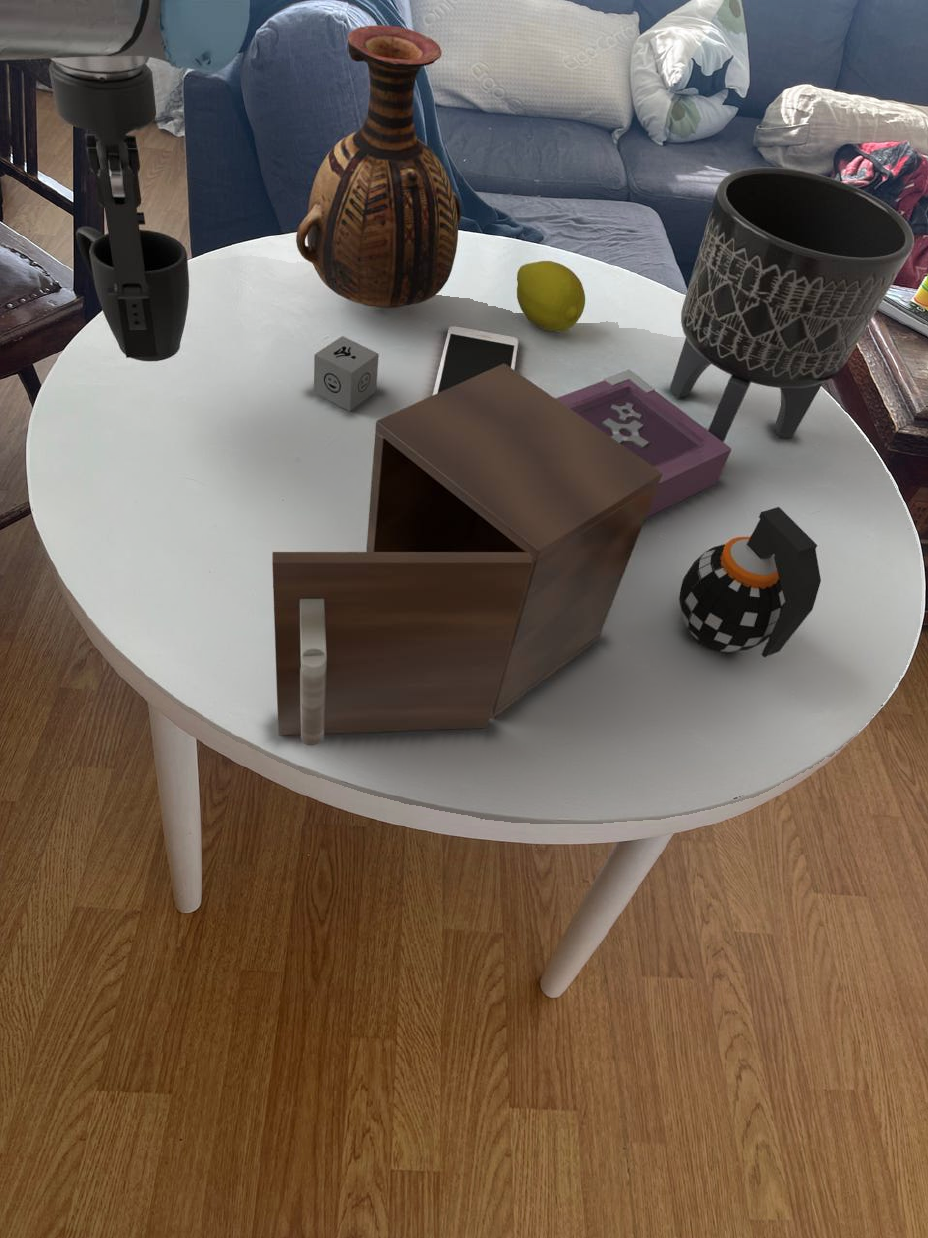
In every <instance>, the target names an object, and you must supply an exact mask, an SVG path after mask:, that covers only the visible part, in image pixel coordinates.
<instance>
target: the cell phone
mask: <svg viewBox="0 0 928 1238" xmlns="http://www.w3.org/2000/svg"><path fill="white" fill-rule="evenodd" d="M446 333H447V334H446V338H445V342H444V346H443V351H442V355H441V358H440V363H439V367H438V371H437V376H436V380H435V384H434V388H433V392H432V396H433V395H435V394H437V393H439V392H442V391H444V390H446V389H448V388H451V387H453V386H455V385H457V384H459V383H462V382H464V381H466V380H468V379H471V378H473V377H475V376H477V375H479V374H482V373H484V372H486V371H488V370H491V369H493V368H495V367H497V366H499V365H502V364H506V365H508V366H509V367H510V368H512V369H513V370H515V369H516V363H517V354H518V348H519V338H518V337H514V336H511V335H505V334H499V333H493V332H490V331H489V332H488V331H483V330H477V329H473V328H467V327H461V326H454V325H451V326H449V327H448V330H447V332H446Z"/></svg>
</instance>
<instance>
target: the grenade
mask: <svg viewBox="0 0 928 1238" xmlns="http://www.w3.org/2000/svg"><path fill="white" fill-rule="evenodd" d="M758 518H759V520H758V522H757V524H756V526H755V528H754V530H753V531H752V533H751V535H750V536H737V537H734V538H731V539H729V540H728V541H726V543H724V544H720V545H716V546H713V547H711V548H709V549H708V550H706V551H704V552H703V553H702V554H701V555H700V556H699V557H698V558H697V559H695V560H694V562H693V563H692V565H691V566H690V567H689V569H688V570H687V572H686V573H685V575H684V577H683V579H682V582H681V585H680V589H679V595H678V604H679V612H680V616H681V620H682V621H683V623H684V625H685V626H686V628H687V630H688V631H689V633H690V635H691V636H692V637H693V638H694V640H695V641H696V642H697V643H698V644H699V645H700V646H703V647H704V648H706V649H708V650H710V651H713V652H717V653H725V652H726V653H733V652H741V651H742V652H743V651H747V650H748V651H749V650H751V649H753V648H755V647H757V646H759V645H762V643H764V642H766V641H767V642H766V643H765V646H764V648H763V650H762V652H761V656H762V657H763V658H766V657H769V656H772V655H775V654H777V653H780V652H781V650H782V649H783V648H784V647H785V645H786V644H787V642H788V641H789V640H790V639H791V637H792V636H793V635H794V634H795V632H796V631H797V630H798V628H799V627H800V626H801V625H802V624H803V622H804V621H805V620H806V619H807V617H808V616H809V615H810V614H811V612H812V611H813V609H814V606H815V603H816V599H817V596H818V592H819V589H820V586H821V582H822V579H821V573H820V567H819V562H818V561H819V560H818V555H817V547H818V546H819V545H818V544H817V543H816V542H815V541H814V540H813V539H812V538H811V537H810V536H809V535H808V534H807V533H806V532H805V531H804V530H803V529H802V528H801V527H800V526H799V525H798V524H797V522H795V521H794V520H793V519H792V517H790V516H789V515H788V514H787V513H786V512H785V511H784V510H783V509H782V508H781V507H780V506H777V507H773V508H769V509H766V510H764V511H760V513H759V515H758Z"/></svg>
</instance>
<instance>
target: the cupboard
mask: <svg viewBox="0 0 928 1238" xmlns="http://www.w3.org/2000/svg"><path fill="white" fill-rule="evenodd" d="M373 442H374V444H373V456H372V457H373V458H372V471H371V482H370V494H369V495H370V497H369V510H368V523H367V537H366V548H365V552H530V554H531V558H532V562H533V563H532V567H531V570H530V574H529V578H528V581H527V585H526V588H525V592H524V596H523V599H522V603H521V607H520V610H519V614H518V618H517V621H516V625H515V628H514V632H513V636H512V639H511V643H510V647H509V650H508V654H507V658H506V661H505V665H504V668H503V672H502V676H501V679H500V683H499V687H498V690H497V694H496V698H495V701H494V705H493V709H492V712H491V716H490V719H494V718H496V717H497V716H498V715H500V714H501V713H503V712H504V711H505V710H506V709H508V708H509V707H511V706H512V705H514V703H516V702H517V701H519V700H520V699H521V698H523V697H525V695H527V694H528V693H529V692H531V691H532V690H533V689H535V688H536V687H537V686H539V685H540V684H541V683H542V682H544V681H545V680H546V679H548V678H549V677H551V676H553V674H555V673H556V672H557V671H559V670H560V669H562V668H563V667H564V666H566V665H567V664H568V663H569V662H571V661H572V660H573V659H575V658H576V657H578V656H579V655H580V654H581V653H583V652H584V651H586V650H587V649H589V648H590V647H591V646H592V645H594V644H595V643H597V641H599V639H600V636H601V634H602V631H603V629H604V626H605V623H606V620H607V619H608V615H609V613H610V610H611V608H612V605H613V602H614V600H615V598H616V596H617V593H618V590H619V587H620V585H621V582H622V580H623V577H624V575H625V571H626V570H627V568H628V567H627V566H628V564H629V563H630V562H629V561H630V558H631V556H632V553H633V551H634V548H635V546H636V543H637V541H638V539H639V537H640V534H641V531H642V528H643V526H644V523H645V520H646V515H647V513H648V510H649V508H650V505H651V502H652V500H653V497H654V495H655V492H656V490H657V487H658V484H659V482H660V479H661V477H662V474H663V473H662V472H660V471H659V470H657V469H656V468H655V467H653V466H652V465H650V464H649V463H647V462H646V461H644V460H643V459H642V458H640V457H639V456H637V455H636V454H634V453H633V452H631V451H630V450H629V449H627V448H626V447H624V446H623V445H621V444H620V443H619V442H617V441H616V440H614V439H613V438H611V437H610V436H608V435H607V434H606V433H604V432H603V431H601V430H600V429H598V428H597V427H595V426H594V425H593V424H591V423H590V422H588V421H587V420H585V419H584V418H582V417H581V416H580V415H578V414H577V413H575V412H574V411H572V410H571V409H569V408H568V407H567V406H565V405H564V404H562V403H561V402H559V401H558V400H557V399H556V397H554V396H552V395H551V394H550V393H548V392H547V391H545V390H543V389H542V388H540V387H539V386H538V385H537V384H535V383H533V382H532V381H531V380H529V379H528V378H526V377H524V376H523V375H522V374H521V373H519V372H518V371H516V370H515V369H514V370H513V369H512V368H510V367H509V366H508V365H506V364H502V365H499V366H497V367H495V368H493V369H491V370H488V371H486V372H484V373H482V374H479V375H477V376H475V377H473V378H471V379H468V380H466V381H464V382H462V383H459V384H457V385H455V386H453V387H451V388H448V389H446V390H444V391H442V392H439V393H437V394H435V395H433V394H432V395H431V396H428V397H426V398H424V399H422V400H420V401H418V402H415V403H412V404H411V405H409V406H406V407H403V408H402V409H400V410H398V411H395V412H393V413H391V414H387V415H386V416H384V417H382V418H380V419H377V420H376V421H375V430H374V441H373Z"/></svg>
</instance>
